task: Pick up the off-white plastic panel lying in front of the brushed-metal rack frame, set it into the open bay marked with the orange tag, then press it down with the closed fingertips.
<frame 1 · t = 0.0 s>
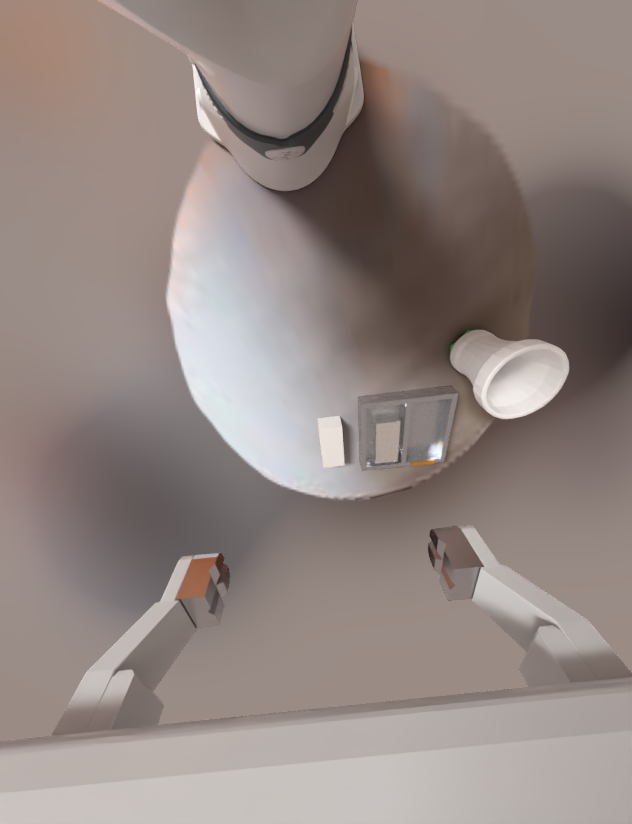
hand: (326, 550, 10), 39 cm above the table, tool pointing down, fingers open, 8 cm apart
cup: (467, 348, 48), on the table
blanking panel: (330, 436, 57), on the table
rack: (401, 426, 56), on the table
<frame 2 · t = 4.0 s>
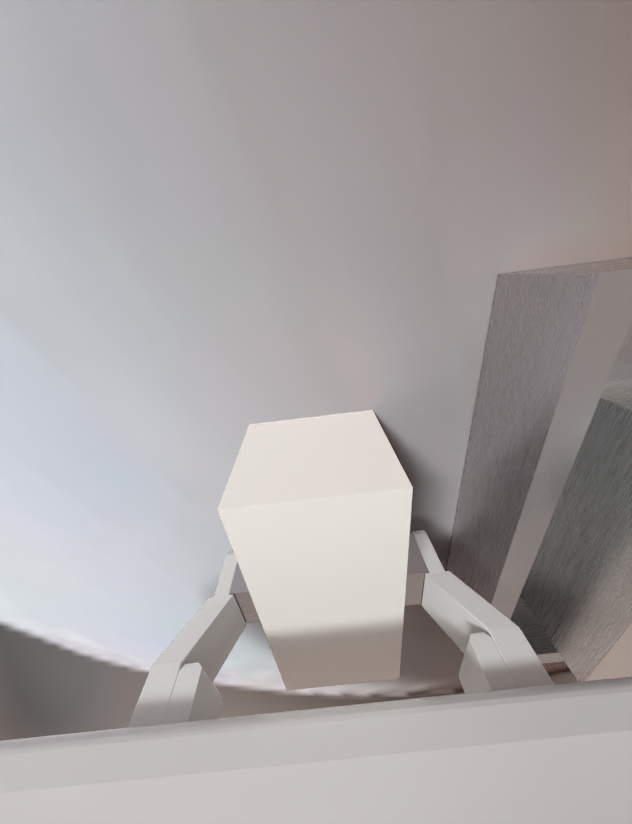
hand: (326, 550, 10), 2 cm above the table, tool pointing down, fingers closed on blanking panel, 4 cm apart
blanking panel: (324, 515, 12), on the table, touching gripper
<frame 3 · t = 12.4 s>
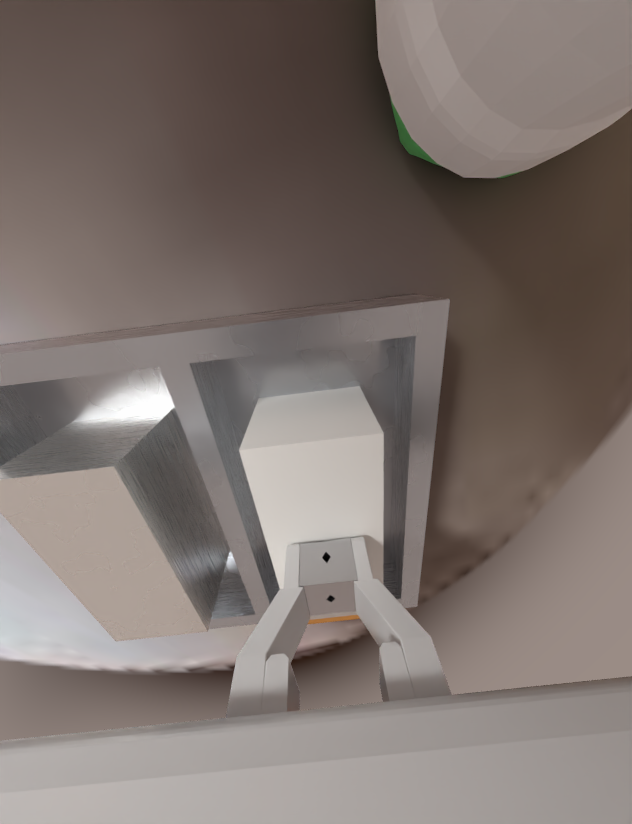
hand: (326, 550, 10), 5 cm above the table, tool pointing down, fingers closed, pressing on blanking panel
cup: (491, 29, 8), on the table
blanking panel: (320, 479, 14), point 1 cm above the table, touching gripper, rack
rack: (244, 479, 15), on the table
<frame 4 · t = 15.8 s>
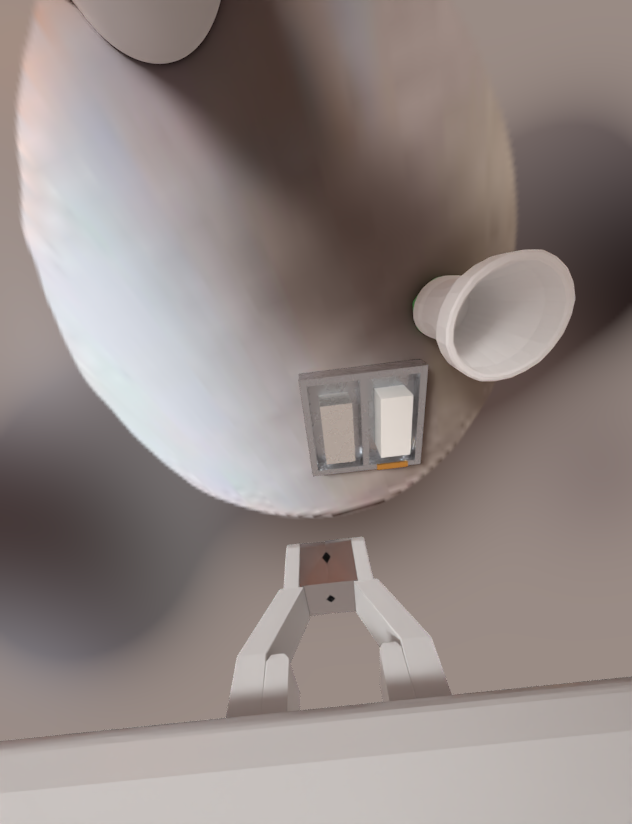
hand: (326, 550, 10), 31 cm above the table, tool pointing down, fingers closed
cup: (437, 306, 36), on the table
blanking panel: (388, 415, 43), point 1 cm above the table, touching rack
rack: (361, 416, 43), on the table
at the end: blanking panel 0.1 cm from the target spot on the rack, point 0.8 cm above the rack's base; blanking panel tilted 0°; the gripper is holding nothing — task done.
